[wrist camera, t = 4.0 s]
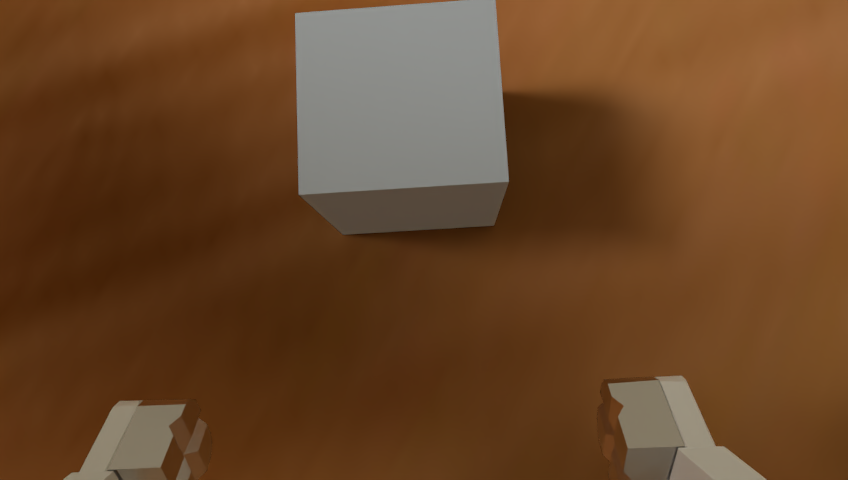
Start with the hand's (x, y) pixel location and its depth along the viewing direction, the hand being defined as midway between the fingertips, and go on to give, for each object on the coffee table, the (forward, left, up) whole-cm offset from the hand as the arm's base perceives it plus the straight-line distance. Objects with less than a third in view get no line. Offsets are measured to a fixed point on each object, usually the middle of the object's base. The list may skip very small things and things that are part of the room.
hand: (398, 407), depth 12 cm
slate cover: (-7, +4, -11) cm, 14 cm away
